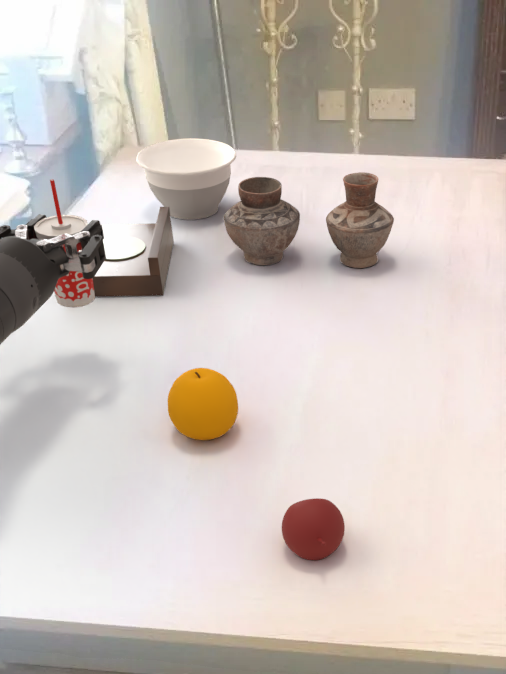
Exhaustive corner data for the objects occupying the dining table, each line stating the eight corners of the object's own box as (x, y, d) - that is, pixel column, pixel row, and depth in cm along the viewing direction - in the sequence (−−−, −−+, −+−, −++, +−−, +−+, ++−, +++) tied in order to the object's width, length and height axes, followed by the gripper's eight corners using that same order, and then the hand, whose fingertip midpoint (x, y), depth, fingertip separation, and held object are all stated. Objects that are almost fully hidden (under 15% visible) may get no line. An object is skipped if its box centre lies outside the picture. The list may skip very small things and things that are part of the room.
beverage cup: (59, 314, 107) (32, 194, 97) (43, 294, 111) (16, 175, 101) (108, 303, 109) (87, 184, 99) (91, 283, 113) (70, 166, 103)
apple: (224, 455, 100) (218, 397, 94) (160, 443, 101) (150, 385, 96) (250, 417, 105) (246, 360, 100) (188, 406, 107) (180, 349, 102)
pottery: (391, 278, 131) (395, 194, 123) (221, 273, 132) (213, 189, 124) (392, 245, 139) (396, 164, 131) (232, 241, 140) (226, 160, 132)
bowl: (198, 183, 157) (193, 131, 151) (260, 208, 149) (256, 154, 143) (124, 209, 149) (115, 155, 143) (185, 237, 141) (178, 181, 135)
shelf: (63, 297, 127) (55, 259, 123) (83, 244, 139) (76, 207, 136) (163, 295, 127) (157, 257, 123) (173, 242, 140) (169, 206, 136)
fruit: (286, 575, 89) (289, 549, 81) (277, 521, 90) (280, 491, 83) (346, 567, 90) (355, 541, 82) (337, 514, 91) (345, 483, 83)
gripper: (60, 260, 91) (123, 198, 102) (-69, 246, 93) (7, 186, 104) (75, 328, 96) (133, 262, 108) (-48, 313, 98) (22, 250, 110)
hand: (71, 225), depth 106 cm, fingers closed on beverage cup, 6 cm apart
